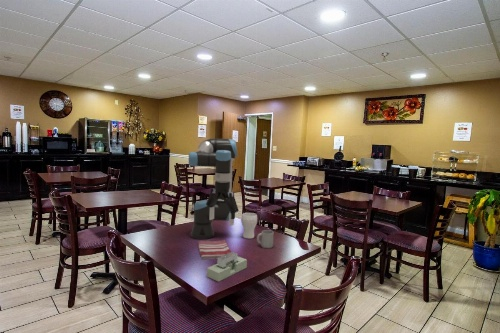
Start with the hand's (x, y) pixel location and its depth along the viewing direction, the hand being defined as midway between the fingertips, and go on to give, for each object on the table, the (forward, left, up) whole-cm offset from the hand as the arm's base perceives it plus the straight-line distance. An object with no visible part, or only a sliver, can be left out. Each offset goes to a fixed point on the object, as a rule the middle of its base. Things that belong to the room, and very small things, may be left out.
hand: (221, 222), depth 144 cm
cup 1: (-14, +42, -21) cm, 49 cm away
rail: (+11, -6, -21) cm, 24 cm away
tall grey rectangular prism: (+11, -6, -20) cm, 23 cm away
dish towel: (-14, +9, -22) cm, 27 cm away
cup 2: (+4, +35, -21) cm, 41 cm away
